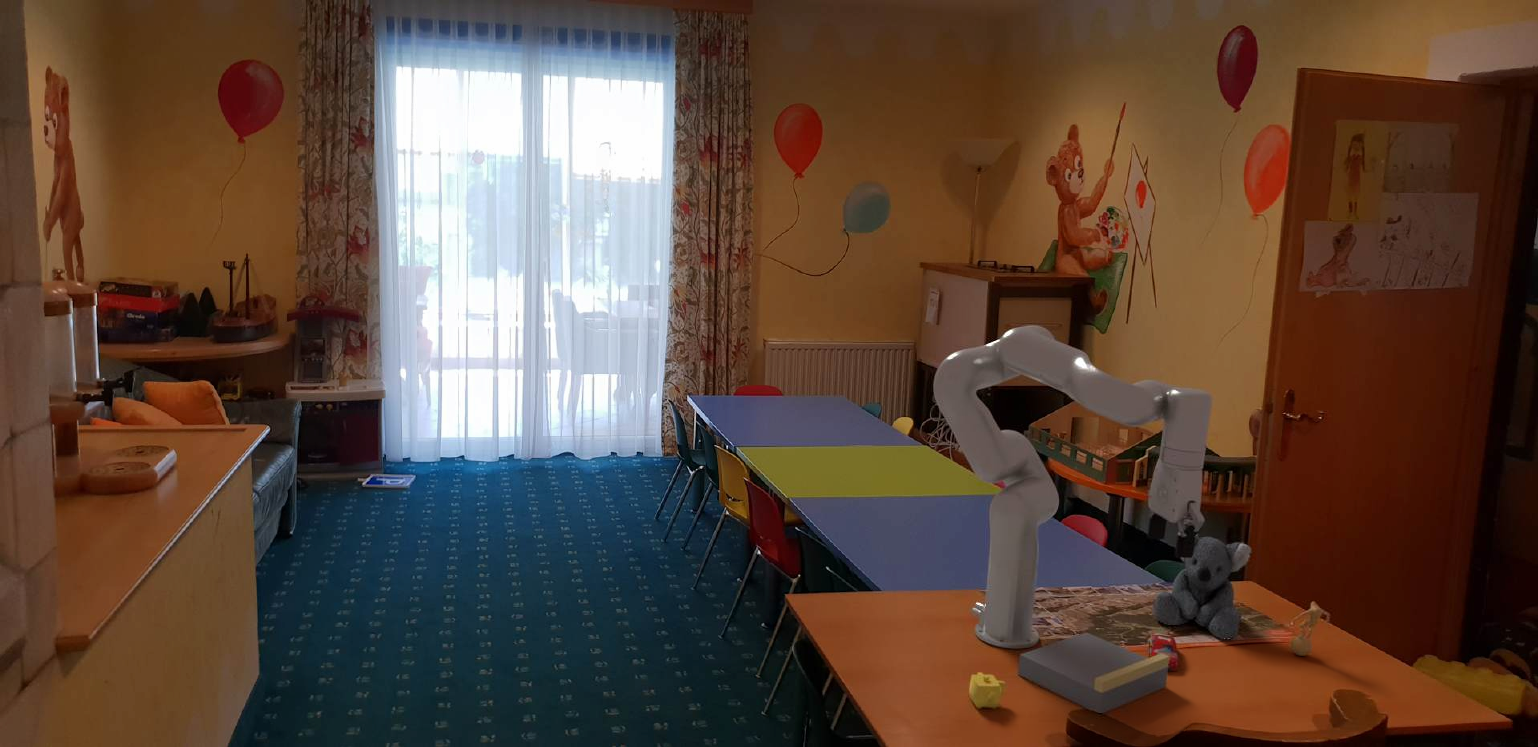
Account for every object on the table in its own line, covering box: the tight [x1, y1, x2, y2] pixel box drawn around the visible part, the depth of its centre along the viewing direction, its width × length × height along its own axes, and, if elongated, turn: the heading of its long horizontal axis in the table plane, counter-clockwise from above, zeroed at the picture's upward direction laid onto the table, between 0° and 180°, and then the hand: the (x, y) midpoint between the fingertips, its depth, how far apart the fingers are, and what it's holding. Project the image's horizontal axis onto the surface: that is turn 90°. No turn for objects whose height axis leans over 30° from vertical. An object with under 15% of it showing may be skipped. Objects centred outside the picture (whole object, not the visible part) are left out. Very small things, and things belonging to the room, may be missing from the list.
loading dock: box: [1017, 631, 1169, 714], centre depth 201 cm, size 18×20×6 cm
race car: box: [1148, 632, 1180, 672], centre depth 213 cm, size 13×5×4 cm, turn 160°
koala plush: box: [1152, 531, 1253, 640], centre depth 232 cm, size 17×18×20 cm
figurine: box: [1289, 601, 1331, 657], centre depth 216 cm, size 8×6×12 cm
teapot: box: [968, 672, 1006, 710], centre depth 189 cm, size 8×6×5 cm
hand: (1169, 547), depth 198 cm, fingers open, 9 cm apart
